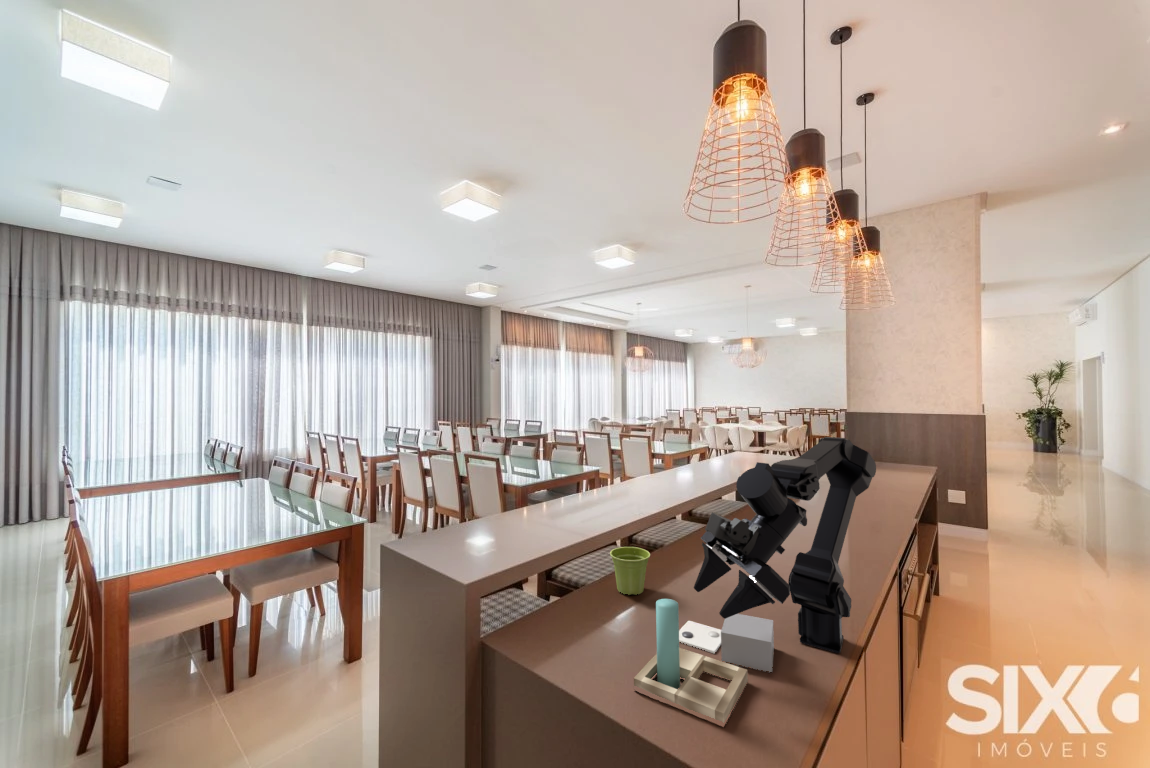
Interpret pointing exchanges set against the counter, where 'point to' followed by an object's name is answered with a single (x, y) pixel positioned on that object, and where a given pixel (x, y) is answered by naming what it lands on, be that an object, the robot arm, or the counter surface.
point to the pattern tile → (700, 636)
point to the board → (697, 684)
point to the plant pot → (630, 569)
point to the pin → (668, 642)
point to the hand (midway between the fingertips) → (707, 602)
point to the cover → (748, 642)
